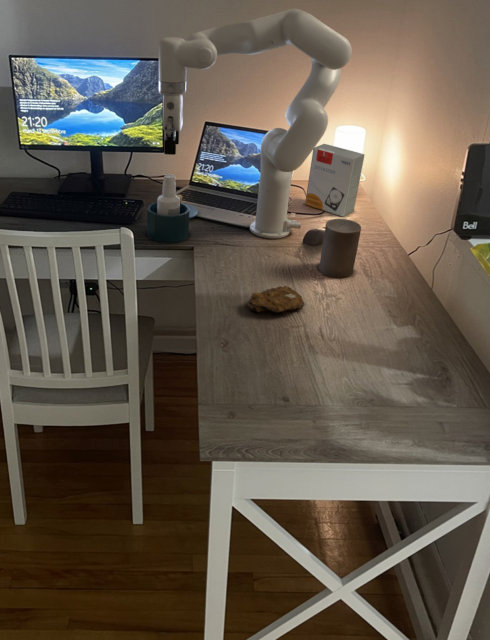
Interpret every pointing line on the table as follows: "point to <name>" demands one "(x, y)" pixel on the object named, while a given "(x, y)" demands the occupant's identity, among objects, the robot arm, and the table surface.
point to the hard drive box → (334, 179)
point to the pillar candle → (339, 247)
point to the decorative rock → (276, 300)
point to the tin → (167, 224)
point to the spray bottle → (168, 198)
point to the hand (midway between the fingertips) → (171, 148)
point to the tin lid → (192, 209)
